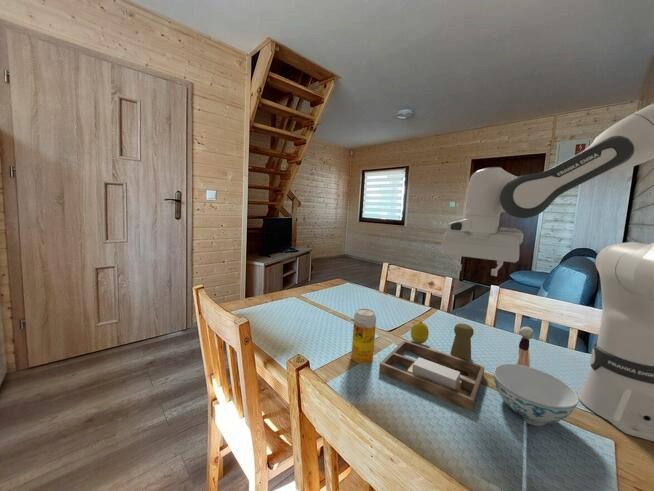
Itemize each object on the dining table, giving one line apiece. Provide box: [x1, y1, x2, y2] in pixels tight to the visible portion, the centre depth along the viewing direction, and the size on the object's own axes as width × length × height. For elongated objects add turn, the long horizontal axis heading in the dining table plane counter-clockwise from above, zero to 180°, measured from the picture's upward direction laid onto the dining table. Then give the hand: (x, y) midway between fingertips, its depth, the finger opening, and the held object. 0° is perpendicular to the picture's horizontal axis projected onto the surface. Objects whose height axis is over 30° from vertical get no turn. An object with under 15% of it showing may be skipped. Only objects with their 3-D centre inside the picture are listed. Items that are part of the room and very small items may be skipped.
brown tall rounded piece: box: [449, 322, 475, 361], centre depth 84 cm, size 6×6×11 cm
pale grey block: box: [406, 363, 462, 393], centre depth 70 cm, size 12×4×2 cm, turn 55°
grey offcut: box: [412, 357, 461, 389], centre depth 70 cm, size 10×4×2 cm, turn 53°
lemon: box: [410, 320, 429, 344], centre depth 93 cm, size 6×6×8 cm
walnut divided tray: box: [378, 339, 486, 412], centre depth 74 cm, size 22×17×4 cm
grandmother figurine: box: [516, 326, 534, 367], centre depth 81 cm, size 8×4×13 cm, turn 155°
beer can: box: [350, 308, 377, 364], centre depth 80 cm, size 6×6×15 cm
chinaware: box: [493, 363, 579, 427], centre depth 63 cm, size 15×15×8 cm
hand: (475, 272), depth 83 cm, fingers open, 8 cm apart
